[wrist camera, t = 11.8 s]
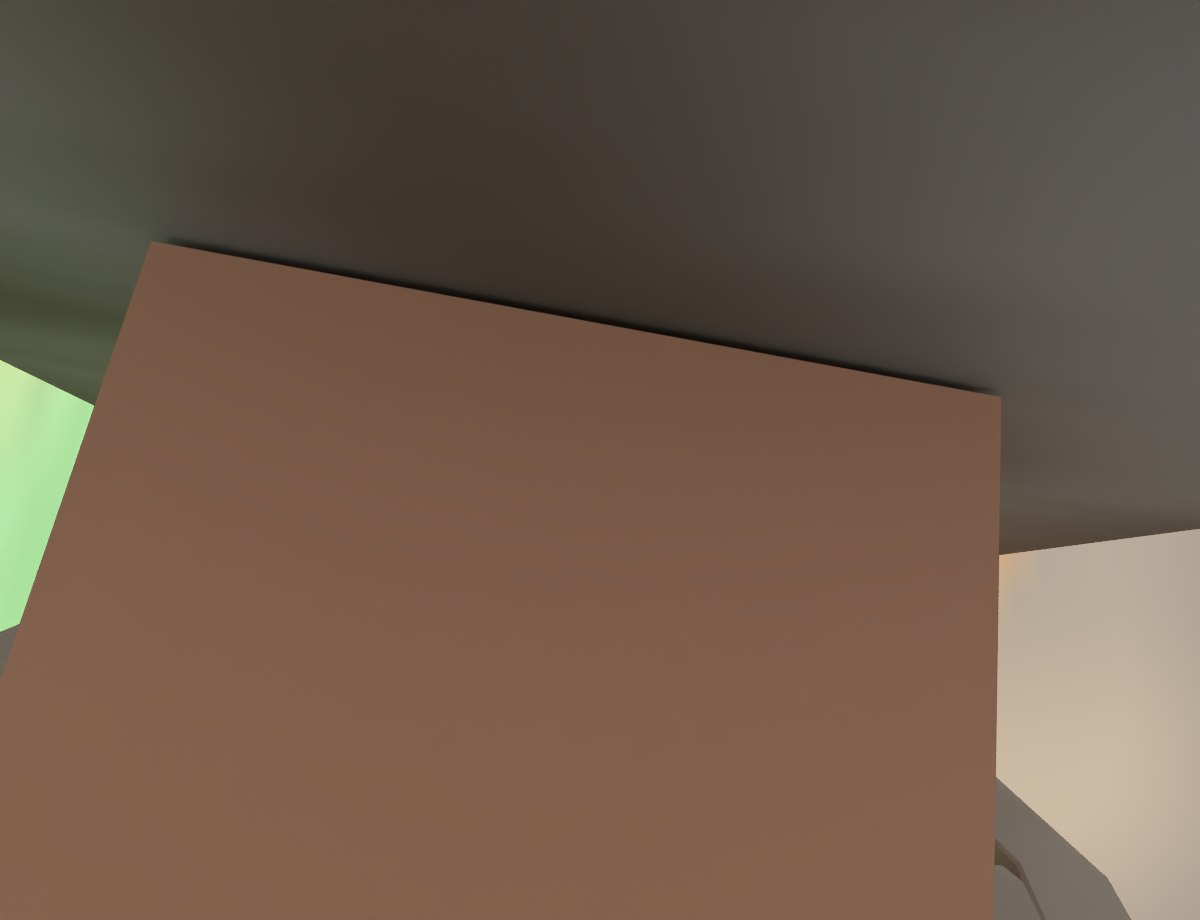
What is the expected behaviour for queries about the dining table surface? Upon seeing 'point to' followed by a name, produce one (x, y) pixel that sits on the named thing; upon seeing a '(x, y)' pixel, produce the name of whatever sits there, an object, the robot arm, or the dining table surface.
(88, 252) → the wall board with cleat
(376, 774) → the salmon brown rectangular block
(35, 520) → the dining table surface
